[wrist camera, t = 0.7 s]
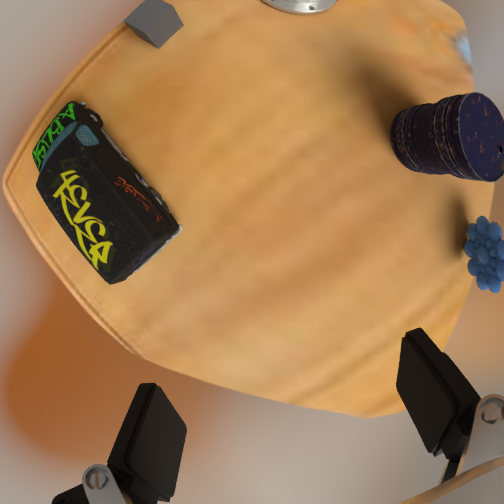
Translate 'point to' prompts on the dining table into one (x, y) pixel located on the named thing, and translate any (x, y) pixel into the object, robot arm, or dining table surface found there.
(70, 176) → the toy van
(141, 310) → the dining table surface
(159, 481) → the robot arm
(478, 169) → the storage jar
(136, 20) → the grey block
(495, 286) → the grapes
